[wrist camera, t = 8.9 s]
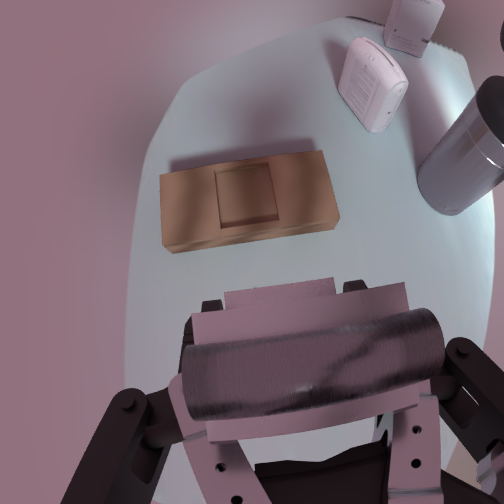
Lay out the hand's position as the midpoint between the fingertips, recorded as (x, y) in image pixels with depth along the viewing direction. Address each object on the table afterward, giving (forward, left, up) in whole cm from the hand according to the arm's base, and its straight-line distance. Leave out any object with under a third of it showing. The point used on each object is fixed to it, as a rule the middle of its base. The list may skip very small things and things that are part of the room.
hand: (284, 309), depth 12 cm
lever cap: (+2, +1, -5) cm, 5 cm away
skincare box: (-58, +7, -24) cm, 63 cm away
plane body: (-12, -8, -23) cm, 28 cm away
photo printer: (-34, +2, -24) cm, 42 cm away
